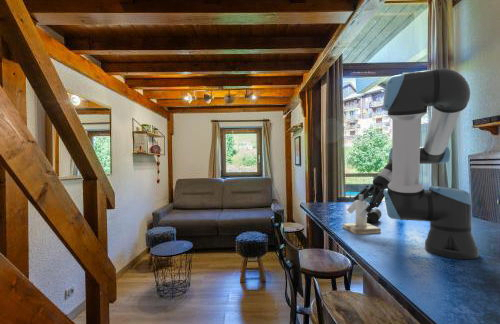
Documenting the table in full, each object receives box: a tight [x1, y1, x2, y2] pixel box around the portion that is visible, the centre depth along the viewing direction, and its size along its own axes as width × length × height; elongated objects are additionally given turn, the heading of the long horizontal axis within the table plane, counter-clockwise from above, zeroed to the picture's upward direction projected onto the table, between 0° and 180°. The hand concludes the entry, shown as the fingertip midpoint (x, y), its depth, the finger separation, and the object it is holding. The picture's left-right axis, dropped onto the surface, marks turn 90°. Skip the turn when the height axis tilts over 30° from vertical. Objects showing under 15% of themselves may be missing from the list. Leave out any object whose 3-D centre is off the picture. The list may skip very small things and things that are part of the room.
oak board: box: [342, 222, 382, 235], centre depth 119 cm, size 12×12×2 cm
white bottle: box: [355, 193, 368, 227], centre depth 120 cm, size 5×5×15 cm
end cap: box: [367, 207, 382, 225], centre depth 134 cm, size 10×7×7 cm
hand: (354, 214), depth 119 cm, fingers open, 10 cm apart
